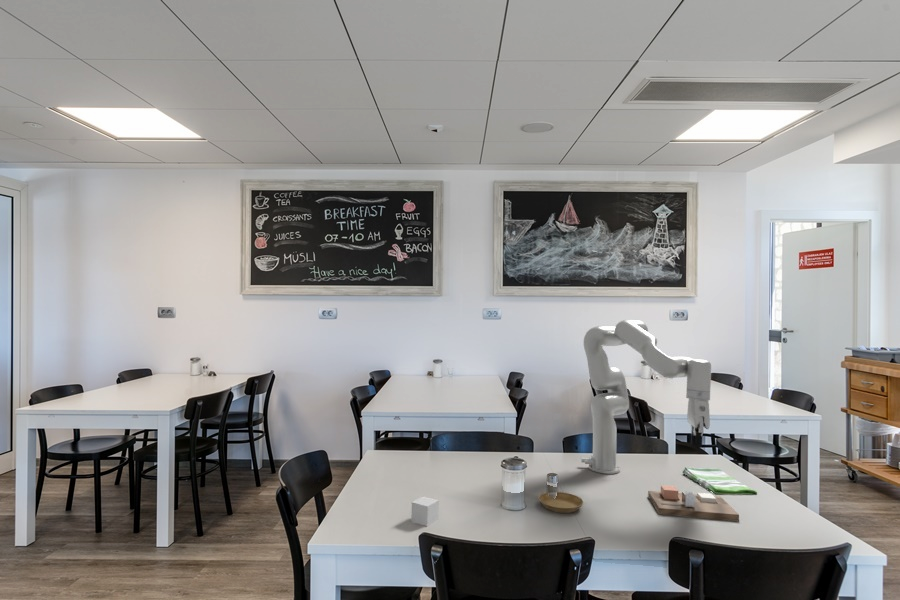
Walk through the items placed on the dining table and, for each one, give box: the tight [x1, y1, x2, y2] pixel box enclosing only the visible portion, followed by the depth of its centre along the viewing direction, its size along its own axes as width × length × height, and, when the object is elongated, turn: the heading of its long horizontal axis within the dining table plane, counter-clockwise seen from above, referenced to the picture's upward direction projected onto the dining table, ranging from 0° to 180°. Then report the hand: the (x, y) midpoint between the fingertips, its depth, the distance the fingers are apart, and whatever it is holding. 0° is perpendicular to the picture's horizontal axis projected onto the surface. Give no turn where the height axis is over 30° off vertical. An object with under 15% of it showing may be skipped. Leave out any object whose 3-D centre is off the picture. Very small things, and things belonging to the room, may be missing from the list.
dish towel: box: [682, 466, 758, 495], centre depth 192 cm, size 17×23×4 cm
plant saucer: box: [538, 491, 584, 514], centre depth 166 cm, size 15×15×3 cm
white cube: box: [410, 495, 440, 527], centre depth 153 cm, size 6×6×6 cm
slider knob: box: [681, 490, 696, 507], centre depth 163 cm, size 3×4×4 cm
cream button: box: [696, 492, 716, 503], centre depth 169 cm, size 5×5×3 cm
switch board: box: [647, 490, 740, 522], centre depth 167 cm, size 24×16×2 cm, turn 80°
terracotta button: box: [660, 484, 679, 500], centre depth 171 cm, size 5×5×3 cm
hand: (696, 446), depth 175 cm, fingers closed
